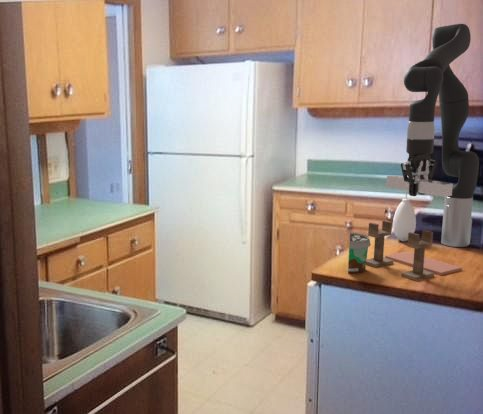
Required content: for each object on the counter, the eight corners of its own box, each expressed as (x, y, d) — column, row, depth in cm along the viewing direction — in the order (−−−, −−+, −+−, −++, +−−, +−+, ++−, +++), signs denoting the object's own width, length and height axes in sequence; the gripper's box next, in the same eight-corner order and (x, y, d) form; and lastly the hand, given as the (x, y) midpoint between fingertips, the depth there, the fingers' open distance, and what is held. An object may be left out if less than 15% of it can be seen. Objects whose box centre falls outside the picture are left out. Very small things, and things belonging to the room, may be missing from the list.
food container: (369, 276, 156) (371, 243, 154) (347, 275, 157) (349, 241, 155) (368, 264, 167) (370, 233, 166) (348, 263, 169) (349, 231, 167)
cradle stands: (380, 259, 173) (383, 219, 171) (433, 276, 157) (437, 232, 154) (363, 263, 169) (365, 222, 166) (415, 280, 152) (418, 235, 150)
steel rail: (393, 186, 171) (394, 175, 171) (451, 195, 154) (452, 183, 154) (386, 187, 170) (386, 176, 169) (444, 196, 152) (444, 184, 152)
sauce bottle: (418, 242, 195) (422, 193, 192) (399, 243, 193) (402, 194, 190) (407, 237, 202) (410, 190, 199) (388, 238, 201) (391, 190, 197)
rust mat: (405, 253, 180) (406, 251, 180) (461, 270, 163) (462, 267, 163) (385, 258, 175) (385, 255, 175) (440, 275, 158) (440, 272, 157)
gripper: (425, 135, 166) (422, 190, 169) (393, 137, 158) (391, 195, 161) (446, 136, 159) (443, 194, 163) (415, 139, 152) (411, 199, 155)
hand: (417, 194), depth 162 cm, fingers closed on steel rail, 3 cm apart
